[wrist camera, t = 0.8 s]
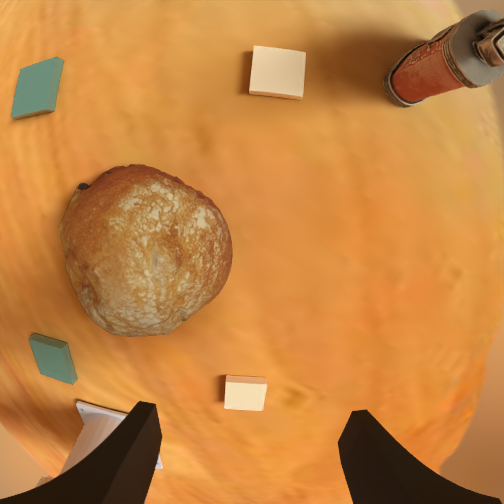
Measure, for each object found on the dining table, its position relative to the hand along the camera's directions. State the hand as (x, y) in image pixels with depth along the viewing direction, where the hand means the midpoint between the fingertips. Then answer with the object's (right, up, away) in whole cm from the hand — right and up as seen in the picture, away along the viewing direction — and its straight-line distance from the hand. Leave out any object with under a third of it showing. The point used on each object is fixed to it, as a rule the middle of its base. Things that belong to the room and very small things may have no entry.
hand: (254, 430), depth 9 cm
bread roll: (-7, +7, +9) cm, 13 cm away
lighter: (+12, +19, +5) cm, 23 cm away
